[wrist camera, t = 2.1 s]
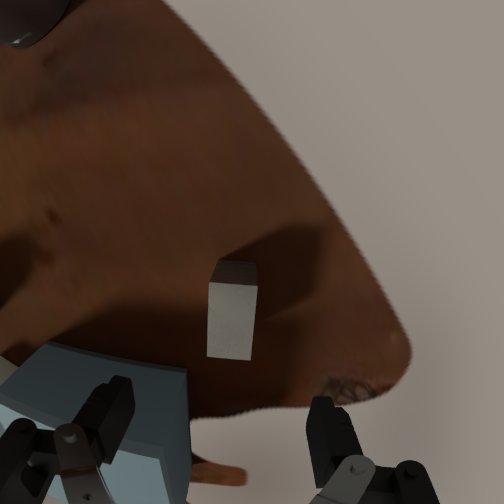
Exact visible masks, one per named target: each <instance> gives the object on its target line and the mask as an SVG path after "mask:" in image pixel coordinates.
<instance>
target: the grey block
mask: <svg viewBox="0 0 504 504" xmlns="http://www.w3.org/2000/svg"><path fill="white" fill-rule="evenodd" d="M257 288H258V282H257V263H256V262H243V261H231V260H219V259H218V262H217V264H216V267H215V269H214V272H213V274H212V277H211V279H210V281H209V300H208V333H207V357H216V358H227V359H239V360H251V350H252V340H253V330H254V320H255V309H256V299H257Z"/></svg>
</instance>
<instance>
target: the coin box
mask: <svg viewBox="0 0 504 504" xmlns="http://www.w3.org/2000/svg"><path fill="white" fill-rule="evenodd" d="M114 375H119V376H123V377H128V378H131V380H132V386H133V392H134V398H135V413H134V416H133V418H132V420H131V422H130V424H129V426H128V429H127V431H126V433H125V435H124V437H123V439H122V442H121V444H120V446H119V448H118V450H117V453H116V455H115V457H114V459H113V462H112V464H111V465H109V464H105V463H102V465H101V467H100V470H101V473H102V475H103V478H104V480H105V482H106V485H107V487H108V489H109V491H110V494H111V496H112V498H113V500H114V502H115V504H186V497H187V493H188V487H189V482H190V476H191V471H192V466H193V462H192V450H191V436H190V421H189V402H188V377H187V368H180V367H173V366H166V365H160V364H153V363H147V362H141V361H136V360H130V359H125V358H120V357H115V356H110V355H105V354H101V353H96V352H92V351H87V350H83V349H79V348H75V347H71V346H67V345H63V344H59V343H56V342H52V341H49V340H48V341H47V342H46V343H45V344H44V345H42V346H41V347H40V348H39V349H38V350H37V351H36V352H35V353H34V354H33V355H32V356H31V357H30V358H28V359H27V360H26V361H25V362H24V363H23V364H22V365H21V366H20V367H19V368H18V369H17V370H16V371H15V372H14V373H13V374H12V375H11V376H10V377H9V378H8V379H7V380H6V381H5V382H4V383H3V384H2V385H0V422H1V423H2V425H3V427H4V429H5V430H6V429H7V428H8V426H9V425H10V424H11V422H13V421H14V420H15V419H18V418H28V419H31V420H32V421H34V423H35V424H36V426H37V428H38V429H47V430H55V429H56V428H57V427H58V426H60V425H62V424H65V423H71V422H72V421H73V419H74V418H75V416H76V415H77V413H78V412H79V410H80V409H81V407H82V406H83V404H84V403H86V400H87V398H88V397H90V394H91V393H92V391H93V390H94V388H96V387H97V386H99V385H100V384H102V383H106V384H108V383H109V381H110V380H111V378H112V377H113V376H114ZM47 495H49V496H51V497H54V498H56V499H58V500H60V501H62V502H65V503H67V504H68V501H67V498H66V495H65V491H64V488H63V485H62V481H61V478H60V475H55V477H54V479H53V481H52V483H51V485H50V487H49V490H48V492H47Z"/></svg>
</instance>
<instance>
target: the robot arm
mask: <svg viewBox="0 0 504 504" xmlns="http://www.w3.org/2000/svg"><path fill="white" fill-rule="evenodd" d="M69 1H70V0H0V42H2V43H4V44H5V45H9V46H11V47H14V48H16V49H22V48H26V47H28V46H30V45H32V44H34V43H35V42H37V41H38V40H40V39H41V38H42V37H43V36H44V35H46V34H47V33H48V32H49V31H50V30H51V29H52V28H53V27H54V25H55V24H56V23H57V22H58V20H59V19H60V18H61V16H62V15H63V13H64V12H65V10H66V8H67V6H68V4H69ZM134 413H135V398H134V392H133V386H132V380H131V378H128V377H123V376H119V375H114V376H113V377H112V378H111V380H110V381H109V383H108V384H106V383H102V384H100V385H99V386H97V387H96V388H94V390H93V391H92V393H91V394H90V397H88V398H87V400H86V403H84V404H83V406H82V407H81V409H80V410H79V412H78V413H77V415H76V416H75V418H74V419H73V421H72V422H71V423H65V424H62V425H60V426H58V427H57V428H56V429H55V430H47V429H38V428H37V426H36V424H35V423H34V421H32V420H31V419H28V418H18V419H15V420H14V421H13V422H11V424H10V425H9V426H8V428H7V429H6V430H5V432H4V433H3V435H2V436H1V437H0V504H42V503H43V500H44V498H45V496H46V494H47V492H48V490H49V487H50V485H51V483H52V481H53V479H54V477H55V475H60V478H61V481H62V485H63V488H64V491H65V495H66V498H67V501H68V504H115V502H114V500H113V498H112V496H111V494H110V491H109V489H108V487H107V485H106V482H105V480H104V478H103V475H102V473H101V470H100V467H101V465H102V463H105V464H109V465H111V464H112V462H113V459H114V457H115V455H116V453H117V450H118V448H119V446H120V444H121V442H122V439H123V437H124V435H125V433H126V431H127V429H128V426H129V424H130V422H131V420H132V418H133V416H134ZM306 435H307V440H308V445H309V451H310V456H311V462H312V467H313V472H314V478H315V484H316V488H323V489H322V490H321V492H320V493H319V494H317V495H316V496H315V497H314V498H313V499H312V501H311V502H310V503H309V504H440V503H439V500H438V498H437V495H436V493H435V490H434V488H433V486H432V483H431V481H430V478H429V476H428V473H427V471H426V469H425V467H424V466H423V465H422V464H421V463H419V462H417V461H413V460H407V461H403V462H401V463H399V464H398V465H397V467H396V468H391V467H381V466H376V465H375V464H374V463H373V461H372V460H371V459H369V458H367V457H365V456H364V455H363V452H362V449H361V447H360V444H359V441H358V438H357V435H356V433H355V431H354V427H353V425H352V422H351V419H350V417H349V414H348V413H347V412H346V411H345V410H344V409H343V408H342V407H334V403H333V400H332V398H331V397H313V399H312V403H311V407H310V410H309V414H308V418H307V422H306Z"/></svg>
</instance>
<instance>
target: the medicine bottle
mask: <svg viewBox="0 0 504 504" xmlns="http://www.w3.org/2000/svg"><path fill="white" fill-rule="evenodd" d="M18 368H19V367H18V366H16V365H14V364H13V363H11V362H10V361H8V360H6V359H5V358H3V357H2V356H0V385H2V384H3V383H4V382H5V381H6V380H7V379H8V378H9V377H10V376H11V375H12V374H13V373H14V372H15V371H16V370H17V369H18ZM4 432H5V429H4V427H3V425H2V423H1V422H0V437H1V436H2V435H3V433H4Z"/></svg>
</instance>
